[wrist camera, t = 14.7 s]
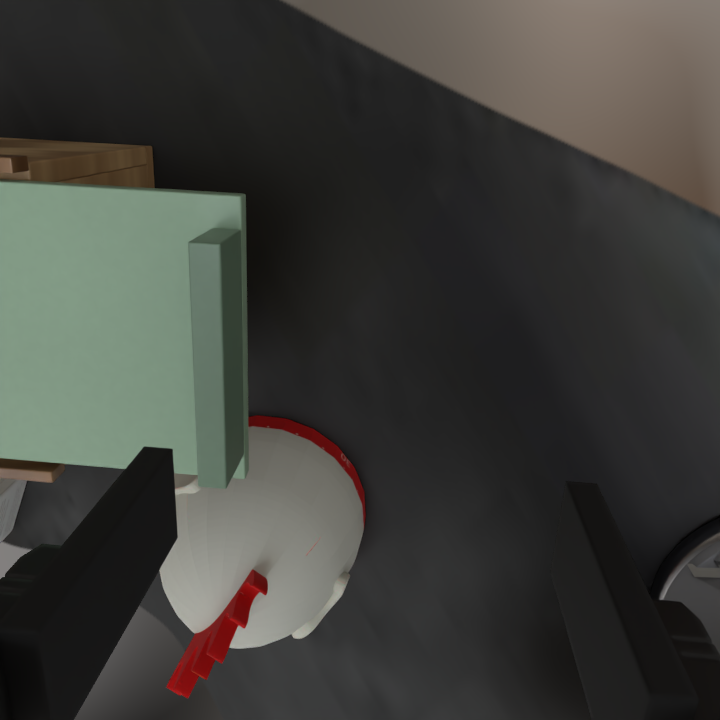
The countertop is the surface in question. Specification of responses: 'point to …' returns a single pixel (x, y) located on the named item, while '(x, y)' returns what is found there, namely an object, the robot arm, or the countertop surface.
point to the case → (80, 168)
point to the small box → (9, 504)
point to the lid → (124, 326)
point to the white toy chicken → (262, 546)
